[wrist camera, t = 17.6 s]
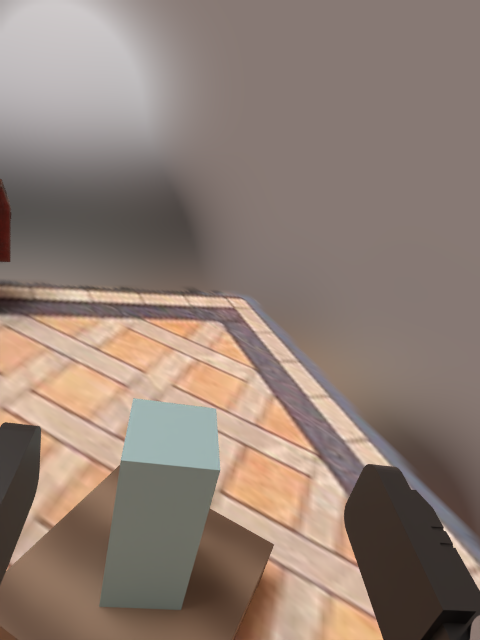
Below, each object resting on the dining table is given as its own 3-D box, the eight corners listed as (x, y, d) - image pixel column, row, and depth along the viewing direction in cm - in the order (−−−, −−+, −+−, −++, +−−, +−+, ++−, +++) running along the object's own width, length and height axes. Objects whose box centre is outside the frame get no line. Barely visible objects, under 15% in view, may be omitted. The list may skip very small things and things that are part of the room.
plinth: (164, 795, 23) (176, 761, 21) (-27, 642, 27) (-29, 603, 25) (261, 577, 35) (274, 544, 33) (119, 494, 39) (124, 460, 37)
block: (180, 609, 28) (220, 470, 22) (99, 606, 27) (120, 460, 22) (182, 538, 32) (215, 408, 27) (112, 533, 31) (133, 398, 26)
